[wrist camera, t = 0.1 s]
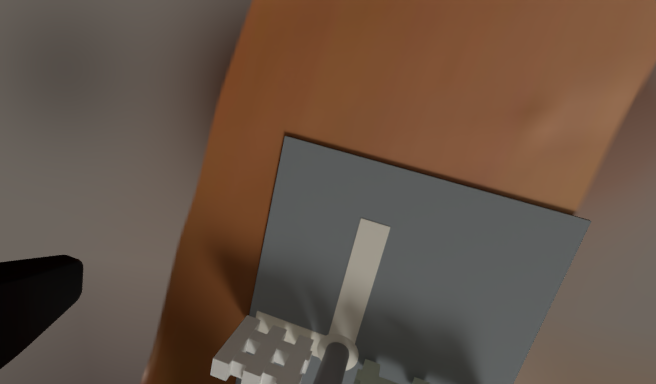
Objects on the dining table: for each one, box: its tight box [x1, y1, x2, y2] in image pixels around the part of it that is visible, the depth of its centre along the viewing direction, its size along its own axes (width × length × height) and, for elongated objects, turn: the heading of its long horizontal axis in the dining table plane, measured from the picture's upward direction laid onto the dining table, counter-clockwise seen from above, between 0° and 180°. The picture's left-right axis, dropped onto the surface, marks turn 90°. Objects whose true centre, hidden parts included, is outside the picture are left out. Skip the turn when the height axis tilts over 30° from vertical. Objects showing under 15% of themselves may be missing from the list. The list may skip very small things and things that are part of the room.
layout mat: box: [236, 136, 591, 384], centre depth 24 cm, size 22×17×1 cm
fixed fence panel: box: [210, 315, 349, 384], centre depth 23 cm, size 7×2×5 cm, turn 77°
